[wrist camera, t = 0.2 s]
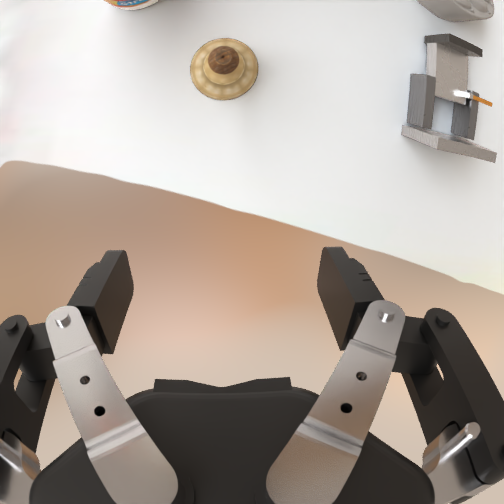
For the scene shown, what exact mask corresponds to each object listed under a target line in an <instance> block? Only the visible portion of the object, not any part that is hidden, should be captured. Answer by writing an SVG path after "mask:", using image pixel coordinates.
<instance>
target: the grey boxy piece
mask: <svg viewBox="0 0 504 504" xmlns="http://www.w3.org/2000/svg"><path fill="white" fill-rule="evenodd" d="M425 44H427V65H426V75H430V76H433V77H436V87H435V96H436V97H439V98H442V99H445V100H448V101H452V102H455V103H459V104H463V105H466V98H468V99H473V100H476V101H479V102H481V103H483V104H486V105H488V106H491V107H492V103H491V102H489V101H487V100H484V99H482V98H479V97H477V96H475V95H473V94H471V93H468V92H467V78H468V56H474V57H482V49H480V48H478V47H476V46H474V45H473V44H471V43H469V42H466V41H464V40H462V39H460V38H458V37H456V36H454V35H451V34H439V35H430V36H425Z"/></svg>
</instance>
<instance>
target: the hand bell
mask: <svg viewBox="0 0 504 504" xmlns="http://www.w3.org/2000/svg"><path fill="white" fill-rule="evenodd" d="M257 73H258V63H257V59H256V57H255V55H254V53H253V52H252V50H251V49H250V48H249V47H248V46H247V45H245V44H244V43H242V42H240V41H238V40H234V39H229V38H221V39H216V40H213V41H210V42H208V43H206V44H205V45H203V46H202V47H201V48H200V49H199V50H198V51H197V52H196V54H195V55H194V57H193V59H192V62H191V67H190V74H191V78H192V81H193V83H194V85H195V86H196V88H197V89H198V90H199V91H200V92H201V93H202V94H204V95H206V96H207V97H210V98H213V99H217V100H230V99H234V98H237V97H239V96H241V95H243V94H244V93H246V92H247V91H248V90H249V89H250V88H251V87H252V85H253V84H254V82H255V80H256V77H257Z"/></svg>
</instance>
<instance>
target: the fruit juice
mask: <svg viewBox="0 0 504 504" xmlns="http://www.w3.org/2000/svg"><path fill="white" fill-rule="evenodd" d="M104 1H106V2H108V3H109V4H111V5H113V6H115V7H117V8H120V9H124V10H137V9H142V8H145V7H148V6H150V5H152V4H154V3H156V2H157V1H159V0H104Z"/></svg>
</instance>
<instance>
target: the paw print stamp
mask: <svg viewBox="0 0 504 504" xmlns="http://www.w3.org/2000/svg"><path fill="white" fill-rule="evenodd" d="M416 1H418V2H419V3H420V4H421V5H422V6H424V7H425V8H426V9H427V10H429V11H430V12H431V13H433V14H434V15H435V16H437V17H439V18H441V19H444V20H447V21H451V22H460V21H470V20H483V19H488V18H491V17H492V16H493V14H494V5H493V0H416Z"/></svg>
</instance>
